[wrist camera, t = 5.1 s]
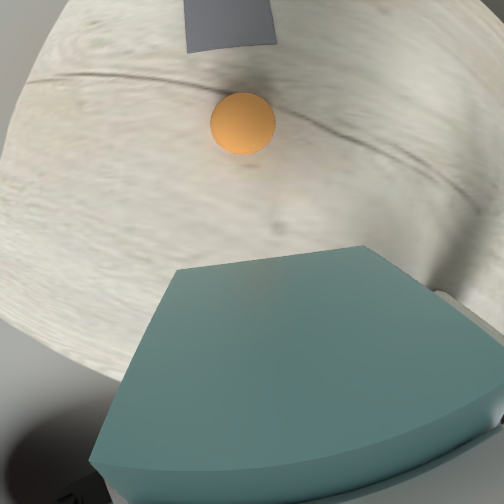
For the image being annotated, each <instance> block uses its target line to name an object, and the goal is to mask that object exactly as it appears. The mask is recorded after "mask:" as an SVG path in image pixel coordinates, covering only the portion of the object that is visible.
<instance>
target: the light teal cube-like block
mask: <svg viewBox="0 0 504 504" xmlns="http://www.w3.org/2000/svg"><path fill="white" fill-rule="evenodd" d="M503 414H504V347H503V346H502V345H501V344H500V343H498V342H497V341H496V340H495V339H494V338H492V337H491V336H490V335H489V334H487V333H486V332H485V331H484V330H482V329H481V328H480V327H479V326H477V325H476V324H475V323H473V322H472V321H471V320H470V319H468V318H467V317H466V316H464V315H463V314H462V313H460V312H459V311H458V310H456V309H455V308H454V307H452V306H451V305H450V304H448V303H447V302H446V301H444V300H443V299H442V298H440V297H439V296H438V295H436V294H435V293H433V292H432V291H431V290H429V289H428V288H426V287H425V286H424V285H422V284H421V283H419V282H418V281H416V280H415V279H414V278H412V277H411V276H409V275H408V274H406V273H405V272H403V271H402V270H401V269H399V268H398V267H396V266H395V265H393V264H392V263H390V262H389V261H387V260H386V259H384V258H383V257H381V256H380V255H378V254H377V253H375V252H374V251H372V250H370V249H369V248H367V247H366V246H364V245H363V246H356V247H349V248H342V249H334V250H327V251H320V252H312V253H305V254H297V255H290V256H282V257H275V258H267V259H259V260H252V261H244V262H236V263H228V264H221V265H213V266H205V267H197V268H189V269H181V270H177V271H176V273H175V275H174V277H173V278H172V280H171V282H170V284H169V286H168V288H167V290H166V292H165V294H164V296H163V298H162V299H161V301H160V303H159V305H158V307H157V309H156V311H155V313H154V315H153V317H152V319H151V321H150V323H149V325H148V327H147V329H146V331H145V333H144V335H143V337H142V340H141V342H140V344H139V346H138V348H137V350H136V352H135V354H134V356H133V358H132V361H131V363H130V365H129V367H128V369H127V371H126V373H125V376H124V378H123V380H122V382H121V385H120V387H119V389H118V391H117V393H116V396H115V398H114V400H113V403H112V405H111V407H110V410H109V412H108V414H107V417H106V419H105V421H104V424H103V426H102V429H101V431H100V434H99V436H98V438H97V441H96V443H95V446H94V449H93V451H92V454H91V456H90V459H89V462H90V463H91V464H92V465H93V467H94V468H95V469H96V470H97V471H98V472H99V473H100V474H101V476H102V477H103V478H104V479H105V480H106V481H107V482H108V483H109V484H110V485H111V486H112V487H113V488H114V489H115V490H116V491H117V492H118V493H119V494H120V495H121V496H122V497H123V498H124V499H125V500H126V501H127V502H128V503H129V504H298V503H303V502H309V501H314V500H318V499H323V498H327V497H331V496H335V495H339V494H343V493H347V492H350V491H354V490H357V489H361V488H364V487H367V486H370V485H373V484H376V483H379V482H382V481H385V480H387V479H390V478H393V477H395V476H398V475H401V474H403V473H406V472H408V471H410V470H413V469H415V468H417V467H420V466H422V465H424V464H426V463H429V462H431V461H433V460H435V459H437V458H439V457H441V456H443V455H445V454H447V453H449V452H451V451H453V450H455V449H457V448H458V447H460V446H462V445H464V444H466V443H468V442H469V441H471V440H473V439H475V438H476V437H478V436H480V435H482V434H484V433H485V432H487V431H489V430H491V429H493V428H495V427H496V426H497V425H498V423H499V421H500V420H501V418H502V416H503Z"/></svg>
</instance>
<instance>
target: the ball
mask: <svg viewBox="0 0 504 504" xmlns="http://www.w3.org/2000/svg"><path fill="white" fill-rule="evenodd" d="M210 124H211V132H212V135H213V137H214V139H215V140H216V142H217V143H218V144H219V145H220V146H221V147H222V148H224V149H225V150H227V151H229V152H232V153H235V154H251V153H254V152H256V151H259V150H260V149H262V148H263V147H264V146H266V145H267V143H268V142H269V141H270V140H271V138H272V136H273V133H274V130H275V116H274V113H273V111H272V109H271V107H270V106H269V104H268V103H267V102H266V101H265V100H263V99H262V98H261V97H259V96H257V95H254V94H251V93H235V94H232V95H229V96H227V97H226V98H224V99H223V100H221V101H220V102H219V103H218V104H217V106H216V107H215V109H214V111H213V113H212V116H211V122H210Z"/></svg>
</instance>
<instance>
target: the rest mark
mask: <svg viewBox="0 0 504 504" xmlns="http://www.w3.org/2000/svg"><path fill="white" fill-rule="evenodd" d="M184 13H185V28H186V41H187V53H193V52H199V51H206V50H213V49H220V48H229V47H238V46H250V45H265V44H277V42H276V36H275V30H274V25H273V19H272V14H271V9H270V4H269V0H184Z"/></svg>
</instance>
